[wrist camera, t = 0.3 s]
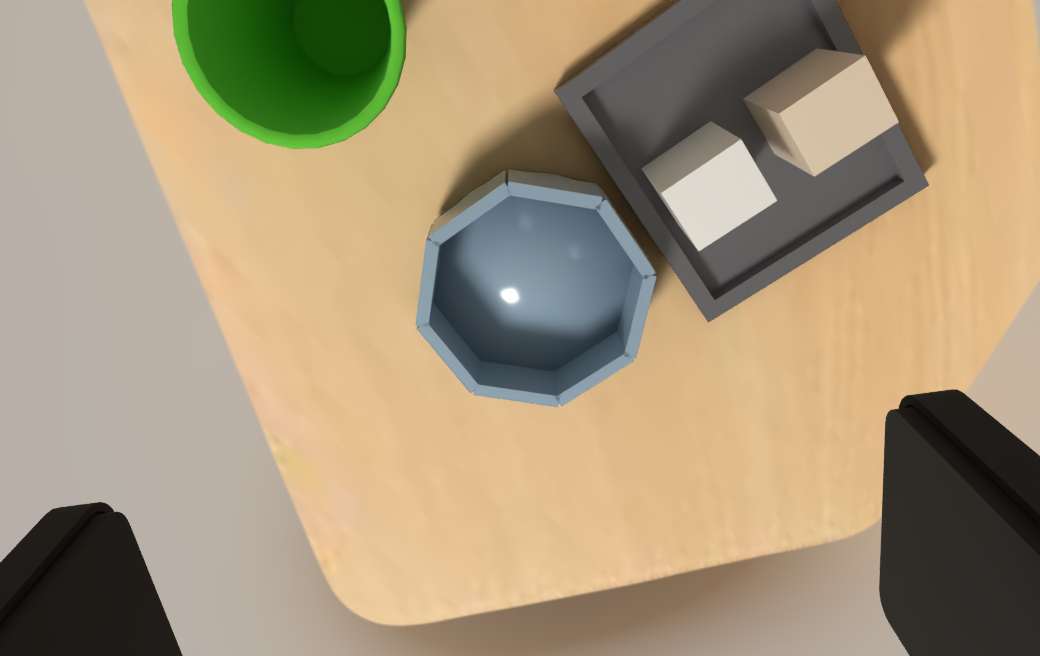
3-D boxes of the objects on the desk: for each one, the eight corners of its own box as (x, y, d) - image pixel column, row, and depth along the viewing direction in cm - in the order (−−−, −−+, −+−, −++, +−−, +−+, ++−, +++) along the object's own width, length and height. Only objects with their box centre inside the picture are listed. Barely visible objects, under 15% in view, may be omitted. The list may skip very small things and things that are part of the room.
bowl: (384, 253, 45) (373, 276, 41) (560, 127, 42) (565, 138, 38) (508, 406, 49) (508, 439, 45) (676, 299, 46) (691, 325, 42)
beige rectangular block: (742, 99, 41) (778, 113, 36) (816, 48, 40) (865, 55, 35) (774, 154, 42) (814, 176, 37) (847, 106, 41) (899, 121, 36)
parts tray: (553, 90, 41) (555, 92, 40) (785, -80, 38) (794, -83, 37) (703, 315, 46) (708, 322, 45) (918, 180, 43) (929, 185, 42)
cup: (464, -4, 40) (448, -7, 29) (378, 146, 42) (337, 191, 32) (306, -114, 38) (231, -157, 27) (227, 52, 40) (133, 68, 30)
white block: (641, 168, 43) (660, 193, 37) (710, 121, 42) (741, 139, 36) (674, 220, 44) (698, 251, 38) (742, 175, 43) (777, 200, 37)
